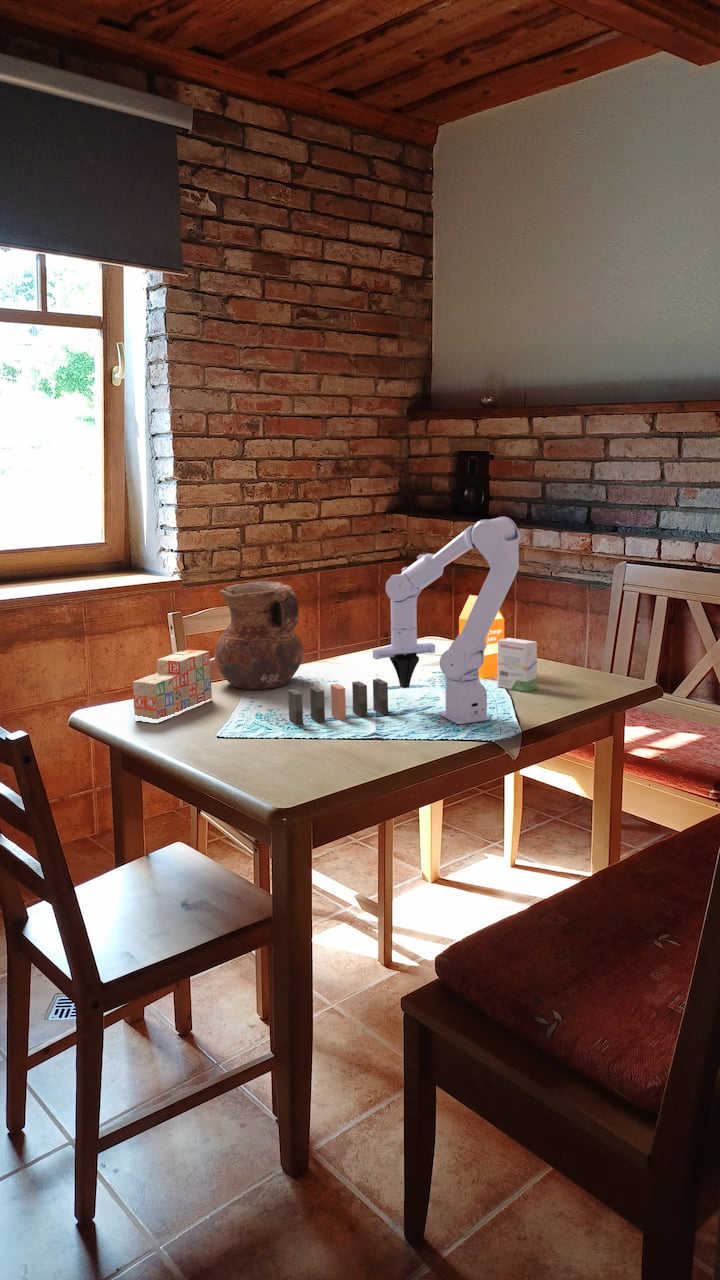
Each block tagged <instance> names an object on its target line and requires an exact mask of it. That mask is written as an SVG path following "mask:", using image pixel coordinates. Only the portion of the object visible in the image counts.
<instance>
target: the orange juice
mask: <svg viewBox="0 0 720 1280" xmlns="http://www.w3.org/2000/svg"><path fill="white" fill-rule="evenodd" d="M477 597H478V595H474V594H473V595H472V594H469V596H468V598H467V600H466V602H465V604H464V607H463V609H462V611H461V613H460V615H459V616H458V617H459V618H458V636H459V635H460V633H461V632H462V630H463V627H464V625H465V623H466V621H467V619H468V617H469V615H470V612H471V610H472V608H473V606H474V604H475V602H476V599H477ZM500 610H501V609H499V611H498V613H497V615H496V618H495V620H494V622H493V624H492V626H491V628H490V630H489V632H488V634H487V637H486V639H485V643H486V645H487V647H486V649H485V651H484V662H483V665H482V666H481V667H480V668H479V677H481V678H480V679H482V678H485V679H487V678H486V677H489V678H491V677H490V676H494V675H498V641H499V640H501V639H505V618H504V616H503V614H502V613H501V611H500ZM494 677H495V676H494Z"/></svg>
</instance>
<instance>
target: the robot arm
mask: <svg viewBox="0 0 720 1280" xmlns="http://www.w3.org/2000/svg"><path fill="white" fill-rule="evenodd" d="M520 539H521V533H520V532H519V529H518V527H517V525H516V523H515V522H514V520H512V519H511V518H510V517H507V516H498V517H495V518H491V519H480V520H479V521H477V522H476V523H474V525H470V526H468V527H467V528H466V529H464V531H462V532H461V533H460V534H459V535H457V536H456V537H455V538H454V539H452V540H451V541H450V542H449V543H447V544H446V545H445V546H443V548H441V549H440V550H439V551H436V553H435V554H433V553H421V554H419V555H418V556H417V557H416V559H417V560H416V561H414V562H413V563H412V564H410V565H409V566H404V567H403V568H401V574H397V573H396V574H392V575H390V577H389V578H388V579H387V581H386V583H385V594H386V595H387V597H388V598H389V599H390V639H391V640H390V641H391V643H390V646H385V647H379V648H374V649H372V658H373V659H375V660H381V659H386V658H389V660H390V661H391V663H392V666H393V668H394V669H395V672H396V676H397V678H398V684H399V687H401V688H402V689H409V688H410V686H411V680H412V677H413V675H414V671H415V669H416V667H417V665H418V664H419V662H420V657H419V656H418V655H421V654H435V653H436V644H434V643H432V642H428V643H418V626H417V625H418V623H417V620H418V619H417V617H418V616H417V615H418V613H417V604H418V597H419V595H420V593H421V592H422V591H423V589H424V588H426V587H428V586H429V585H431V584H432V583H433V582H434V581H436V580H438V579H439V578H440V577H441V576H443V573H444V568H445V566H447V565H449V564H450V563H451V562H453V561H455V560H456V559H458V558H459V557H461V556H462V555H464V554H465V553H467V552H468V551H470V550H474V549H477V550H478V551H479V552H480V554H481V555H482V556H483V558H484V559H485V560H486V562H487V564H488V566H489V568H490V569H489V571H488V574H487V576H486V578H485V580H484V581H483V582H484V583H483V584H482V587H481V589H480V591H479V593H478V595H477V596H478V597H477V599H476V602H475V604H474V606H473V608H472V610H471V612H470V615H469V617H468V619H467V621H466V623H465V625H464V627H463V630H462V632H461V633H460V635H459V634H458V635H457V637H456V638H455V639H454V640H453V641H452V642H451V645H450V646H449V648H448V649H447V650H445V651H444V652H443V653H442V654H441V656H440V658H439V668H440V671H441V673H442V674H443V675H444V678H445V685H444V686H445V710H442V711H438V712H437V715H440V716H441V717H443V718H445V719H447V720H448V721H450V722H452V723H454V724H457V725H462V724H470V723H478V722H483V721H485V722H486V721H490V720H491V717H490V716H488V715H487V714H488V712H487V709H488V706H487V705H488V702H487V701H488V698H487V697H488V694H487V693H488V692H487V689H486V687H485V686H484V685H483V684H482V683H481V681H480V678H479V668H480V667H481V666H482V665H483V662H484V651H485V649H486V647H487V645H486V643H485V639H486V637H487V634H488V632H489V630H490V628H491V626H492V624H493V622H494V620H495V618H496V615H497V613H498V611H499V610H501V607H502V605H503V603H504V601H505V599H506V596H507V594H508V592H509V590H510V588H511V586H512V584H513V581H514V580H515V578H516V576H517V573H518V572H519V567H520V564H519V563H520V561H519V560H520V557H519V555H520V554H519V544H520Z"/></svg>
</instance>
